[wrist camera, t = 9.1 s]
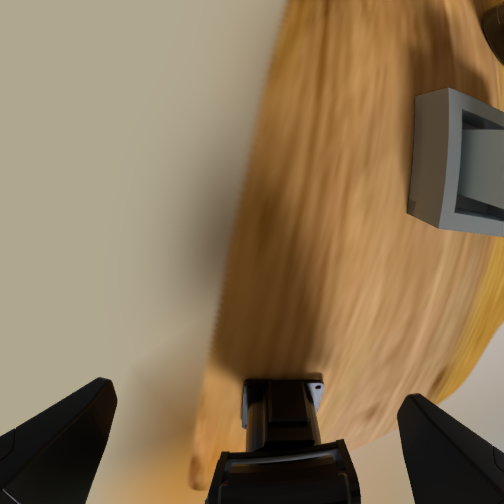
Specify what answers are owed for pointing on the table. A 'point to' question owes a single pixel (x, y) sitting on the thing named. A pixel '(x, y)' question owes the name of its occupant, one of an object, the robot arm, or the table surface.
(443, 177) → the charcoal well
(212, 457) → the table surface
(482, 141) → the blue-grey block
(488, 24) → the supplement bottle
